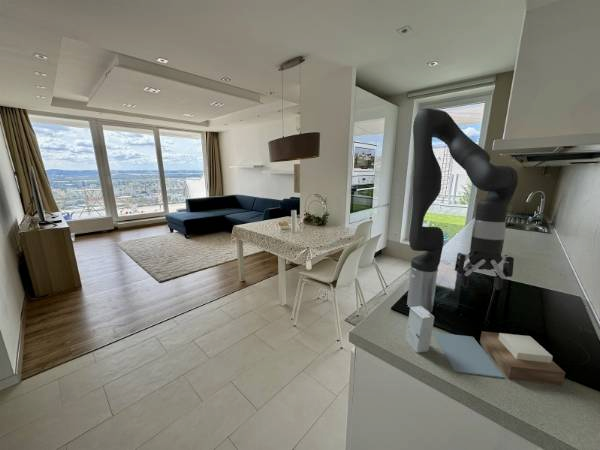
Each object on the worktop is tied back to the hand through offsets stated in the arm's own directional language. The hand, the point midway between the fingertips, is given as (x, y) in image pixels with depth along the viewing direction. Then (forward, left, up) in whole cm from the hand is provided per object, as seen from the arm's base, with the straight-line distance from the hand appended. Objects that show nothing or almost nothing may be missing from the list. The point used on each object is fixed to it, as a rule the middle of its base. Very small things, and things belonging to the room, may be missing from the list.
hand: (480, 287), depth 73 cm
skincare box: (+5, -18, -19) cm, 26 cm away
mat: (+6, -5, -19) cm, 20 cm away
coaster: (+7, +9, -15) cm, 19 cm away
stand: (+7, +8, -19) cm, 22 cm away
